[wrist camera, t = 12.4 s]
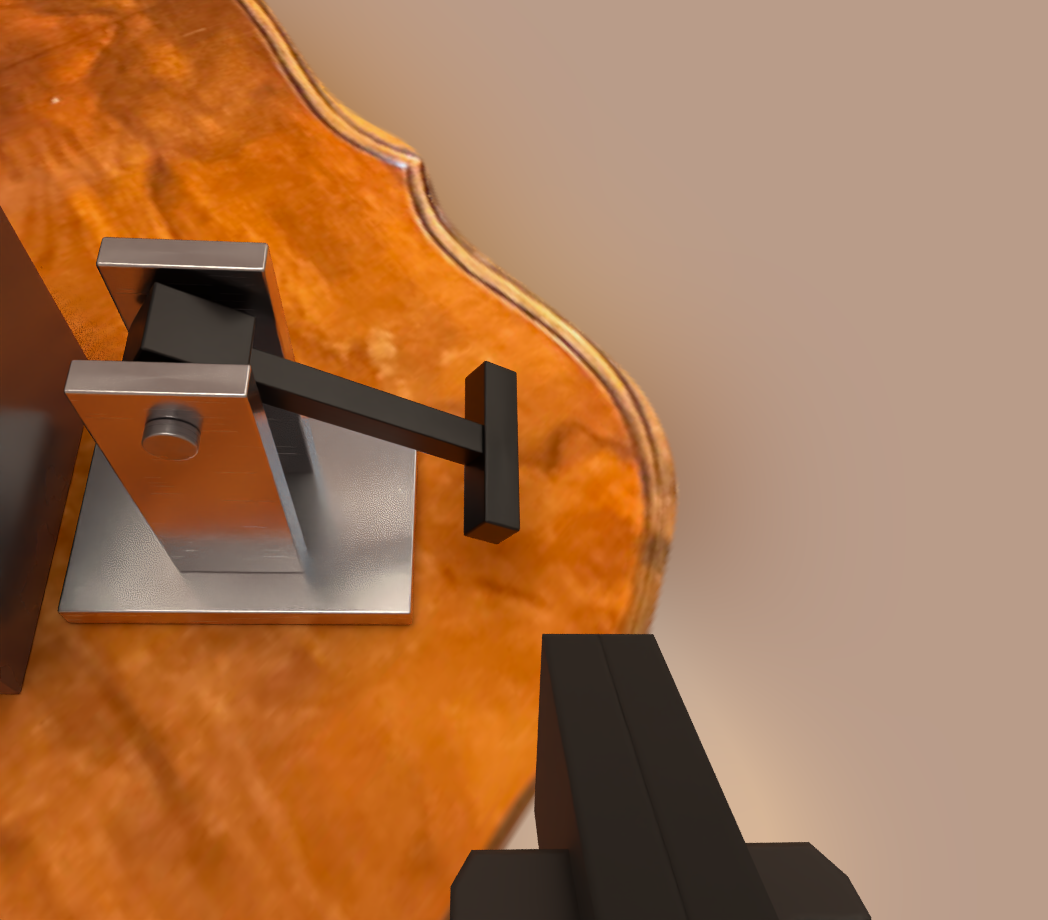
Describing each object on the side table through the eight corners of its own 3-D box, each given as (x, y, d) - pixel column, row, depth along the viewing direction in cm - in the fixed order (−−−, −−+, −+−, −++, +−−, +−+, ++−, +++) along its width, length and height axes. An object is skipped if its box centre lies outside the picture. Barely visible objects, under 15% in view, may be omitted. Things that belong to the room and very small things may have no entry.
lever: (487, 396, 34) (526, 364, 32) (488, 551, 31) (531, 524, 29) (141, 273, 27) (166, 225, 26) (101, 453, 24) (126, 412, 23)
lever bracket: (418, 434, 38) (410, 206, 27) (411, 625, 34) (398, 452, 23) (111, 427, 37) (-32, 188, 26) (68, 623, 33) (-123, 442, 22)
